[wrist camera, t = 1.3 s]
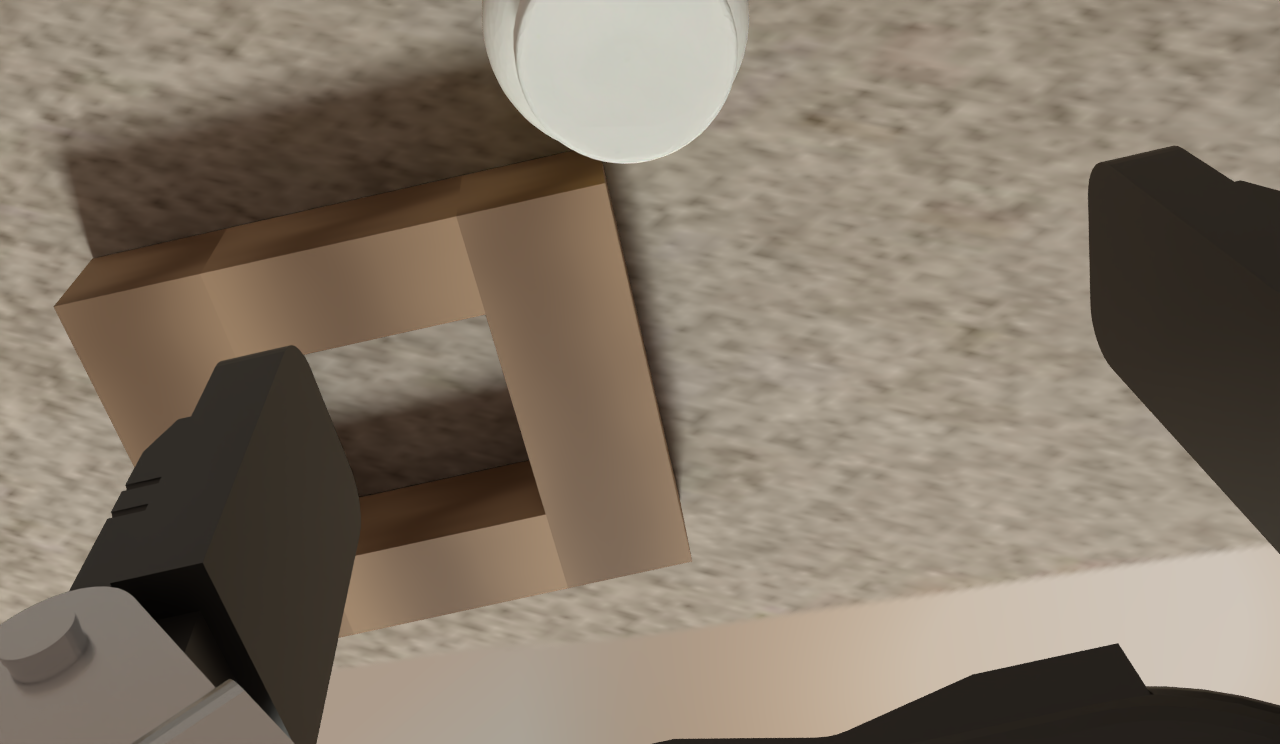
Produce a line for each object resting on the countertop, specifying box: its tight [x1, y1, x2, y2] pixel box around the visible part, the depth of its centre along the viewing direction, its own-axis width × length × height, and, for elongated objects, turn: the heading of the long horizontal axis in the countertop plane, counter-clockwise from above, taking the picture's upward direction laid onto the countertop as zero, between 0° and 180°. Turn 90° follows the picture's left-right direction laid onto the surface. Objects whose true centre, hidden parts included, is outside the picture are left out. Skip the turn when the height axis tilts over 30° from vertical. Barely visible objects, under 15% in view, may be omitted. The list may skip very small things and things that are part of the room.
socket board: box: [54, 150, 692, 638], centre depth 33 cm, size 14×12×3 cm
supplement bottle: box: [482, 0, 749, 164], centre depth 25 cm, size 5×5×10 cm
